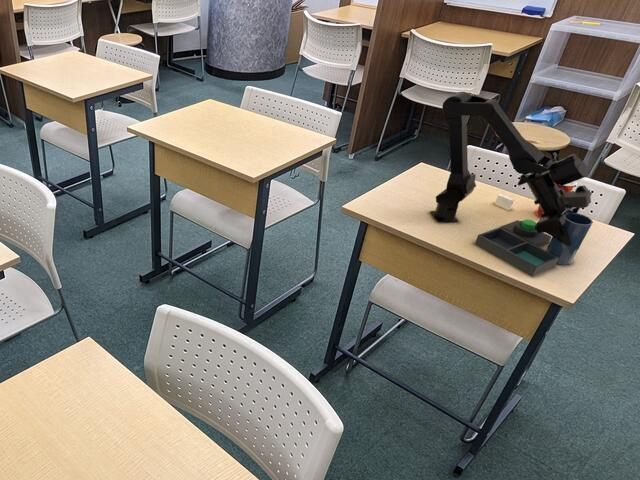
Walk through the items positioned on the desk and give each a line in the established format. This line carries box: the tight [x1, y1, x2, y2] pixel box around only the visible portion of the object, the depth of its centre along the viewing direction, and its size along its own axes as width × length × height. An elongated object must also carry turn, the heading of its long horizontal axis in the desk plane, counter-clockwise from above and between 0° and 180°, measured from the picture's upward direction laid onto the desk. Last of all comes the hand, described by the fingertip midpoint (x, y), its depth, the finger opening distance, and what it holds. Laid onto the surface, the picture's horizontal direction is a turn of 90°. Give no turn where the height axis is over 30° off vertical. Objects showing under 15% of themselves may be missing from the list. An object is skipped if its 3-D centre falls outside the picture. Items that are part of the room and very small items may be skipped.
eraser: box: [494, 193, 515, 211], centre depth 180 cm, size 1×5×4 cm, turn 31°
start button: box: [521, 218, 537, 230], centre depth 163 cm, size 4×4×2 cm
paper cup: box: [536, 180, 578, 219], centre depth 172 cm, size 8×8×14 cm
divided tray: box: [474, 226, 559, 278], centre depth 157 cm, size 18×10×3 cm, turn 26°
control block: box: [499, 220, 552, 248], centre depth 165 cm, size 11×8×4 cm
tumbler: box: [545, 212, 594, 266], centre depth 152 cm, size 7×7×13 cm
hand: (573, 240), depth 152 cm, fingers closed on tumbler, 7 cm apart
